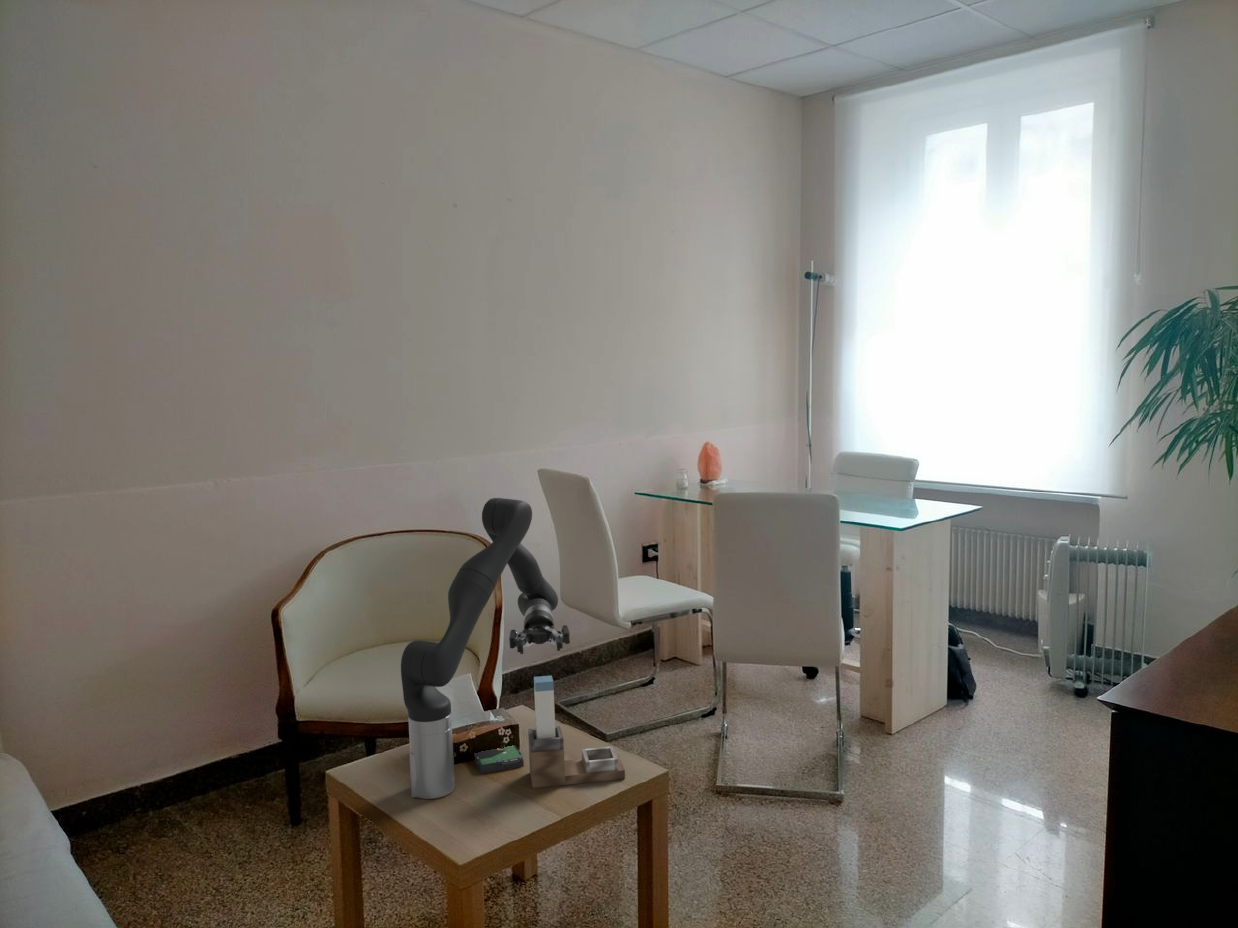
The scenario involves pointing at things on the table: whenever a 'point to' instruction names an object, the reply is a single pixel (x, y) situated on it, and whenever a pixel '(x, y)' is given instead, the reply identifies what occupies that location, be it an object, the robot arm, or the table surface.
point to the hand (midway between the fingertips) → (540, 648)
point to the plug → (544, 707)
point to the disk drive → (498, 759)
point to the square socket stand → (570, 763)
